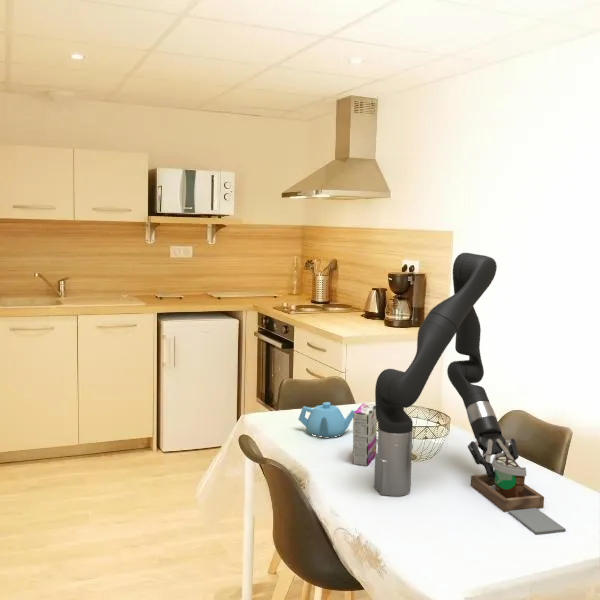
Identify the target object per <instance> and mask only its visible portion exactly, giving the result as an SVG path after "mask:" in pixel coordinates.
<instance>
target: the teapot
mask: <svg viewBox="0 0 600 600" xmlns="http://www.w3.org/2000/svg"><path fill="white" fill-rule="evenodd" d="M355 411H356V410H351V411H350V412H349V413H348V415H347V416H346V417H344V415H343V413H342V412H341V409H340V408H339V407H337V406H336V405H331V402H330V401H326V402H322V404H320V405H316V406H314V407H313V408H312V407H309V406H305V405H303V407H302V408H301V412H300V414H299V416H298V421H299V422H301V424H302V425H303V426H305V428H306V430H307V432H308V433H309V434H310V435H311V434H313V435H316V436H322V437H335V436H339V435H341V436H342V435H343V434H344V433H345V432H346V430H347V429H348V428H349V426H350V424H351V422H352V421H353V413H354V412H355ZM307 413H309V416H308V417H307V418H306V414H307ZM313 435H312V436H313ZM339 437H340V436H339ZM335 438H336V437H335Z"/></svg>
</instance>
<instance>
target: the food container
mask: <svg viewBox="0 0 600 600" xmlns="http://www.w3.org/2000/svg"><path fill="white" fill-rule="evenodd" d="M491 463H492V467H493V469H494V472H495V485H494V490H496V491H497V492H498V493H500V494H501V495H502V496H504V497H505V498H516V497H523V491H524V484H525V480H526V477H527V470H526V469H527V468H526V467H524V466H523V467H521V466H520V465H519V464H518V463H517V462H516V460H515V461H513V460H511V459H510V458H508V457H507V456H505V454H504V453H503V452H502V453H499V454H496V455H494V457H493V459H492V462H491Z"/></svg>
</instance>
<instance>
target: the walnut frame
mask: <svg viewBox="0 0 600 600" xmlns="http://www.w3.org/2000/svg"><path fill="white" fill-rule="evenodd" d="M493 485H494V486H495V477H494V478H493V479H490V477H488V475H487V473H486V474H485V473H484V474H475V475H474V474H472V475H470V487H471V488H473V489H474V490H475V491H476V492H477V493H479V494H480V495H482V496H483V497H484V498H485V499H487V500H488V501H490V503H492V504H493V505H494V506H495V507H497V508H498V509H500V511H502V512H503V513H506V512H507V513H508V511H512V510H522V509H532V508H537V509H538V510H539V509H544V507H545V506H544V505H545V504H544V503H545V496H543V495H542V494H540V493H539V492H537V491H536V490H535V489H533V488H531V487H530V486H529V485H527V484H525V483H524V491H523V497H516V498H505V497H504V496H502V495H501V494H500V493H498V492H497V491H496V490H495V488H494V487H493ZM491 486H492V487H491Z"/></svg>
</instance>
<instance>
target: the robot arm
mask: <svg viewBox="0 0 600 600" xmlns="http://www.w3.org/2000/svg"><path fill="white" fill-rule="evenodd" d="M452 265H453V266H452V282H453V283H452V284H453V295H451V296H449V297H448V298H446V299H444V300H442V301H440V303H438V304H436V305H435V306H433V307H432V308H431V309H430V311H428V313H427V315H426V316H425V317H424V320H423V321H422V322H421V324H420V326H419V328H418V331H417V336H416V337H417V341H416V343H417V344H416V353H415V355H414V358H413V360H412V361H411V363H410V364H409V366H408V367H407V369H406V370H405V371H401V370H399V369H395V368H387V369H386V368H385V369H384V370H382V371H381V373H380V374H378V376H377V379H376V383H375V389H374V393H375V394H374V395H375V396H374V398H375V399H374V400H375V401H374V403H375V404H374V405H376V418H377V423H378V424H377V426H378V427H377V428H378V429H377V430H378V431H377V432H378V433H377V437H378V438H377V452H376V454H375V457H374V472H373V473H374V476H373V478H374V480H373V487H374V488H375V489H376V490H377V492H378V493H379V494H380V495H381V496H385V495H386V496H392V497H400V496H401V497H402V496H406V495H408V494H410V493H411V487H412V460H413V459H412V455H413V454H412V452H413V451H412V450H413V427H414V425H413V420H412V417H410V416H409V414H408V413H407V412H406V411H405V409H406V408H409V407H411V406H414V404H415V403H416V402H417V400H418V399H419V397H420V396H421V394H422V393H423V390H424V389H425V386H426V385H427V382H428V380H429V378H430V376H431V375H432V372H433V370H434V368H435V366H437V363H438V362H439V360H440V358H441V357H442V355H443V353H444V351H445V350H446V349H447V347H448V346H449V344H450V343H451V341H452V340H453V338H454V337H455V351H456V352H457V353H458V354H460V355H463V356H468V360H467V359H466V360H455V361H451V362H450V363H449V364H448V365H447V369H446V370H447V371H446V372H447V377H448V380H449V383H451V385H452V387H453V388H454V389H455V391H456V392H457V393H458V394H459V396H460V398H461V400H462V401H463V405H464V408H465V410H466V415H467V418H468V422H469V425H470V426H471V430H472V433H473V437H474V438H475V441H474V440H473V441H471V442H470V443H469V444H468V445H467V448H468V450H469V452H470V454H471V456H472V458H473V460H474V462H475V464H476V465H478V466H479V465H482V466H483V468H484V470H485V472H486V474H487V475H488V477H490V479H493V478H494V477H495V472H494V468H493V467H492V462H491V456H493V455H494V456H495V455H496V454H499V453H504V454H505V456H507V457H508V458H510V459H511V460H513V461H515V462H516V461H517V460H518V459H519V452H518V448H517V443H516V440H515V438H511V439H506V438H505V437H504V436H503V434H502V429H501V426H500V424H499V421H498V418H497V416H496V414H495V411H494V408H493V407H492V405H491V402H490V399H489V397H488V395H487V392H486V390H485V388H484V387H482V386H480V385H477V383H480V382H482V380H483V378H484V374H485V371H484V365H483V362H482V356H481V350H480V349H481V348H480V345H481V342H480V341H481V332H482V329H481V324H480V319H479V316H478V313H477V312H476V310H475V307H474V305H475V304H476V303H477V302H478V301H479V300H480V298H481V297H482V295H484V293H485V292H486V291H487V290H488V288H489V287H490V286H491V284H492V282H493V281H494V279H495V276H496V274H497V267H498V264H497V262H496V260H495V259H494V258H493V257H491V256H488V255H483V254H477V253H470V252H461V253H459V254H458V255H457V256H456V258H455V260H454V262H453V264H452ZM403 408H404V409H403ZM480 450H481V451H482V453H481V452H480Z"/></svg>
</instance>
